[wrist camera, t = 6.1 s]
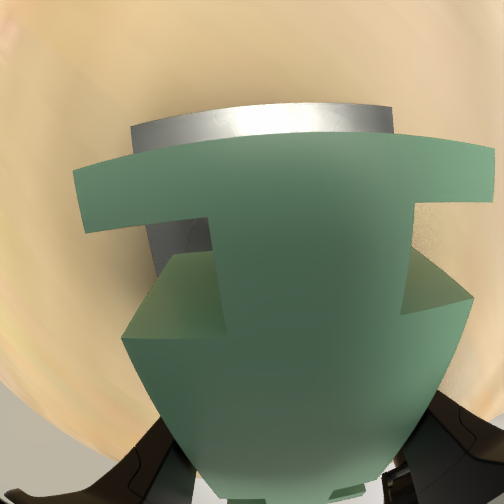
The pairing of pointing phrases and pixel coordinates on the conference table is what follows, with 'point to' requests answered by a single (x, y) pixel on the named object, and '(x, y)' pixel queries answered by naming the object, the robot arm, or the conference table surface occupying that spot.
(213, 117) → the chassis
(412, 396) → the green notched block
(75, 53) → the conference table surface
